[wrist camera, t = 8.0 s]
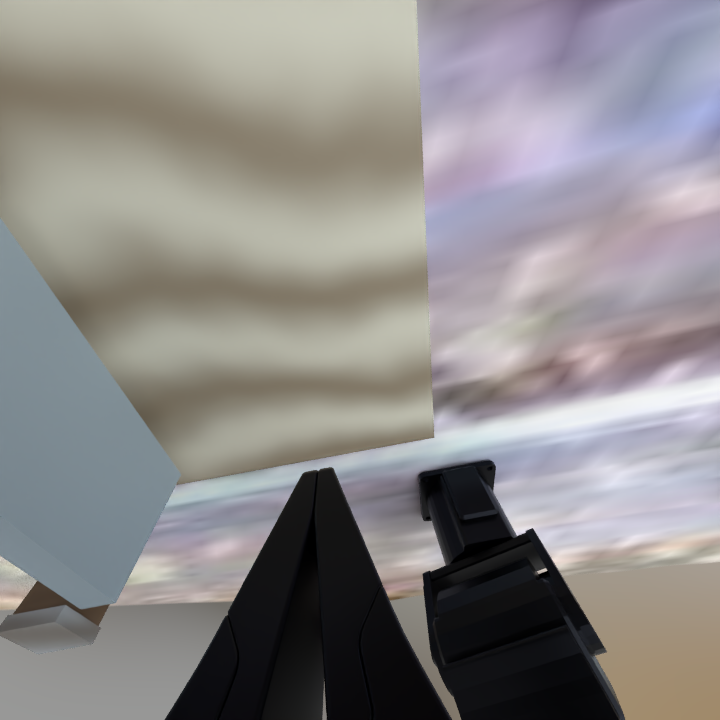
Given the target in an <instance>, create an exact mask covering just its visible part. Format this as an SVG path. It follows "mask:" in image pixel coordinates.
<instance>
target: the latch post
mask: <svg viewBox="0 0 720 720" xmlns="http://www.w3.org/2000/svg"><path fill="white" fill-rule="evenodd" d="M109 605H110V604H108V605H102V606H97V607H91V608H86V609H79V608H78V607H76V606H75V605H73V604H72V603H70V602H69V601H67V600H66V599H64V598H63V597H61V596H60V595H58V594H57V593H55V592H54V591H52V590H51V589H49V588H48V587H46V586H45V585H43V584H42V583H41V582H39V581H37V582H36V584H35V585H34V586H33V588H32V589H31V590H30V592H29V593H28V595H27V596H26V597H25V599H24V600H23V601H22V603H21V604H20V605H19V607H18V608H17V609H16V611H15V612H14V614H13V615H8V616H7V617H6V618H5V620H4V621H3V623H2V624H1V625H0V636H2V637H4V638H6V639H8V640H10V641H12V642H14V643H16V644H18V645H20V646H22V647H24V648H26V649H28V650H30V651H32V652H34V653H36V654H42V653H47V652H52V651H58V650H64V649H68V648H74V647H80V646H85V645H91V644H93V642H94V640H95V638H96V636H97V634H98V632H99V630H100V627H99V623H100V622H101V620H102V618H103V616H104V614H105V612H106V610H107V608H108V606H109Z"/></svg>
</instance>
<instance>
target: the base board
mask: <svg viewBox="0 0 720 720" xmlns="http://www.w3.org/2000/svg"><path fill="white" fill-rule="evenodd" d="M0 218H1V219H2V221H3V222H4V224H5V225H6V226H7V228H8V229H9V231H10V232H11V233H12V235H13V236H14V238H15V239H16V241H17V242H18V243H19V245H20V246H21V248H22V249H23V250H24V252H25V253H26V255H27V256H28V258H29V259H30V260H31V262H32V263H33V265H34V266H35V268H36V269H37V270H38V272H39V273H40V275H41V276H42V277H43V279H44V280H45V282H46V283H47V285H48V286H49V287H50V289H51V290H52V292H53V293H54V295H55V296H56V297H57V299H58V300H59V302H60V303H61V304H62V306H63V307H64V309H65V310H66V312H67V313H68V314H69V316H70V317H71V319H72V320H73V321H74V323H75V324H76V326H77V327H78V329H79V330H80V331H81V333H82V334H83V336H84V337H85V339H86V340H87V341H88V343H89V344H90V346H91V347H92V348H93V350H94V351H95V353H96V354H97V356H98V357H99V358H100V360H101V361H102V363H103V364H104V365H105V367H106V368H107V370H108V371H109V373H110V374H111V375H112V377H113V378H114V380H115V381H116V383H117V384H118V385H119V387H120V388H121V390H122V391H123V392H124V394H125V395H126V397H127V398H128V400H129V401H130V402H131V404H132V405H133V407H134V408H135V409H136V411H137V412H138V414H139V415H140V417H141V418H142V419H143V421H144V422H145V424H146V425H147V427H148V428H149V429H150V431H151V432H152V434H153V435H154V436H155V438H156V439H157V441H158V442H159V444H160V445H161V446H162V448H163V449H164V451H165V452H166V453H167V455H168V456H169V458H170V459H171V461H172V462H173V463H174V465H175V466H176V468H177V469H178V471H179V472H180V473H181V476H180V478H179V480H178V482H177V484H176V485H179V484H184V483H190V482H195V481H200V480H206V479H211V478H217V477H222V476H228V475H233V474H239V473H244V472H249V471H255V470H260V469H266V468H271V467H277V466H282V465H288V464H293V463H298V462H304V461H309V460H315V459H320V458H326V457H331V456H336V455H342V454H347V453H353V452H358V451H364V450H369V449H375V448H380V447H385V446H391V445H396V444H402V443H407V442H413V441H418V440H424V439H429V438H434V423H433V399H432V374H431V349H430V325H429V300H428V275H427V250H426V226H425V201H424V176H423V152H422V127H421V102H420V77H419V53H418V28H417V3H416V0H0Z"/></svg>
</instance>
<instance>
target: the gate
mask: <svg viewBox="0 0 720 720" xmlns="http://www.w3.org/2000/svg"><path fill="white" fill-rule="evenodd" d="M180 476H181V473H180V472H179V471H178V469H177V468H176V466H175V465H174V463H173V462H172V461H171V459H170V458H169V456H168V455H167V453H166V452H165V451H164V449H163V448H162V446H161V445H160V444H159V442H158V441H157V439H156V438H155V436H154V435H153V434H152V432H151V431H150V429H149V428H148V427H147V425H146V424H145V422H144V421H143V419H142V418H141V417H140V415H139V414H138V412H137V411H136V409H135V408H134V407H133V405H132V404H131V402H130V401H129V400H128V398H127V397H126V395H125V394H124V392H123V391H122V390H121V388H120V387H119V385H118V384H117V383H116V381H115V380H114V378H113V377H112V375H111V374H110V373H109V371H108V370H107V368H106V367H105V365H104V364H103V363H102V361H101V360H100V358H99V357H98V356H97V354H96V353H95V351H94V350H93V348H92V347H91V346H90V344H89V343H88V341H87V340H86V339H85V337H84V336H83V334H82V333H81V331H80V330H79V329H78V327H77V326H76V324H75V323H74V321H73V320H72V319H71V317H70V316H69V314H68V313H67V312H66V310H65V309H64V307H63V306H62V304H61V303H60V302H59V300H58V299H57V297H56V296H55V295H54V293H53V292H52V290H51V289H50V287H49V286H48V285H47V283H46V282H45V280H44V279H43V277H42V276H41V275H40V273H39V272H38V270H37V269H36V268H35V266H34V265H33V263H32V262H31V260H30V259H29V258H28V256H27V255H26V253H25V252H24V250H23V249H22V248H21V246H20V245H19V243H18V242H17V241H16V239H15V238H14V236H13V235H12V233H11V232H10V231H9V229H8V228H7V226H6V225H5V224H4V222H3V221H2V219H1V218H0V556H2V557H3V558H5V559H6V560H8V561H9V562H11V563H12V564H14V565H15V566H17V567H18V568H20V569H21V570H23V571H24V572H26V573H27V574H29V575H30V576H32V577H33V578H35V579H36V580H38V581H39V582H41V583H42V584H43V585H45V586H46V587H48V588H49V589H51V590H52V591H54V592H55V593H57V594H58V595H60V596H61V597H63V598H64V599H66V600H67V601H69V602H70V603H72V604H73V605H75V606H76V607H78V608H79V609H86V608H91V607H97V606H102V605H108V604H113V603H116V601H117V599H118V597H119V595H120V593H121V591H122V589H123V588H124V586H125V584H126V582H127V580H128V578H129V576H130V574H131V572H132V570H133V568H134V566H135V564H136V562H137V560H138V558H139V556H140V554H141V552H142V550H143V548H144V546H145V544H146V542H147V541H148V539H149V537H150V535H151V533H152V531H153V529H154V527H155V525H156V523H157V521H158V519H159V517H160V515H161V513H162V511H163V509H164V507H165V505H166V503H167V501H168V499H169V497H170V495H171V493H172V492H173V490H174V488H175V486H176V484H177V482H178V480H179V478H180Z"/></svg>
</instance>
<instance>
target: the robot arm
mask: <svg viewBox="0 0 720 720" xmlns="http://www.w3.org/2000/svg"><path fill="white" fill-rule="evenodd" d="M495 470H496V466H495V464H494V463H493V462H492V461H484V462H479V463H473V464H468V465H462V466H457V467H451V468H446V469H441V470H435V471H430V472H424V473H421V474H420V475H419V488H420V500H421V512H422V518H423V520H424V521H432V523H433V526H434V529H435V532H436V535H437V539H438V542H439V545H440V548H441V552H442V555H443V558H444V561H445V564H446V566H444V567H441V568H439V569H436V570H434V571H431V572H430V571H428V572H425V573H423V582H424V586H423V589H424V598H425V607H426V614H427V625H428V633H429V642H430V650H431V656H432V660H433V662H434V664H435V665H436V666H437V667H438V670H439V673H440V675H441V678H442V680H443V682H444V684H445V686H446V688H447V689H448V691H449V692H450V694H451V695H452V696H453V697H454V699H455V702H456V704H457V708H458V710H459V713H460V717H461V720H625V717H624V714H623V711H622V709H621V706H620V704H619V701H618V699H617V697H616V694H615V692H614V689H613V687H612V685H611V683H610V682H609V680H608V678H607V677H606V675H605V673H604V671H603V669H602V668H601V666H600V664H599V663H598V661H597V659H596V657H595V655H599V654H602V653H605V652H607V651H606V650H605V648H604V646H603V644H602V642H601V641H600V639H599V638H598V636H597V634H596V632H595V631H594V629H593V627H592V625H591V624H590V622H589V620H588V619H587V617H586V615H585V614H584V612H583V610H582V609H581V607H580V605H579V603H578V602H577V600H576V598H575V597H574V595H573V593H572V592H571V590H570V588H569V587H568V585H567V583H566V582H565V580H564V578H563V577H562V575H561V573H560V572H559V570H558V568H557V567H556V565H555V563H554V562H553V560H552V558H551V557H550V555H549V554H548V552H547V550H546V549H545V547H544V545H543V544H542V542H541V541H540V539H539V537H538V536H537V534H536V533H535V531H534V529H533V528H532V529H530V530H527V531H526V533H524V534H522V535H519V536H517V535H516V533H515V532H514V530H513V528H512V526H511V524H510V522H509V520H508V519H507V517H506V515H505V513H504V511H503V509H502V508H501V506H500V504H499V502H498V500H497V498H496V496H495V495H494V493H493V487H494V479H495ZM544 568H546V569H547V571H546V572H544V573H541V574H538V573H537V571H539V570H541V569H544ZM324 681H325V697H326V713H327V720H452V719H451V717H450V715H449V713H448V712H447V710H446V708H445V707H444V705H443V703H442V701H441V699H440V697H439V696H438V694H437V692H436V690H435V688H434V687H433V685H432V683H431V682H430V680H429V678H428V676H427V674H426V673H425V671H424V669H423V667H422V665H421V664H420V662H419V660H418V658H417V656H416V654H415V652H414V651H413V649H412V647H411V645H410V643H409V641H408V639H407V637H406V635H405V633H404V632H403V629H402V627H401V625H400V623H399V621H398V618H397V616H396V614H395V612H394V610H393V608H392V605H391V603H390V601H389V598H388V596H387V594H386V591H385V589H384V587H383V585H382V582H381V580H380V577H379V575H378V573H377V570H376V568H375V566H374V563H373V561H372V559H371V556H370V554H369V552H368V549H367V547H366V544H365V542H364V540H363V537H362V535H361V533H360V530H359V528H358V526H357V523H356V521H355V519H354V516H353V514H352V511H351V509H350V507H349V504H348V502H347V500H346V497H345V495H344V493H343V490H342V488H341V486H340V483H339V481H338V478H337V476H336V474H335V471H334V469H333V468H332V467H329V468H324V469H320V470H319V471H317V470H313V471H308V472H304V473H303V474H302V476H301V477H300V479H299V481H298V483H297V485H296V487H295V489H294V490H293V492H292V494H291V496H290V498H289V500H288V501H287V503H286V505H285V507H284V509H283V511H282V513H281V514H280V516H279V518H278V520H277V522H276V524H275V526H274V527H273V529H272V531H271V533H270V535H269V537H268V538H267V540H266V542H265V544H264V546H263V548H262V550H261V551H260V553H259V555H258V557H257V559H256V561H255V563H254V564H253V566H252V568H251V570H250V572H249V574H248V575H247V577H246V579H245V581H244V583H243V585H242V587H241V588H240V590H239V592H238V594H237V596H236V598H235V600H234V601H233V603H232V605H231V607H230V609H229V611H228V615H227V616H225V618H224V620H223V621H222V623H221V625H220V627H219V629H218V631H217V633H216V635H215V636H214V638H213V640H212V642H211V643H210V645H209V647H208V649H207V650H206V652H205V654H204V656H203V658H202V659H201V661H200V663H199V665H198V667H197V668H196V670H195V672H194V673H193V675H192V677H191V678H190V680H189V682H188V683H187V684H186V686H185V688H184V690H183V691H182V693H181V694H180V696H179V698H178V699H177V701H176V703H175V704H174V706H173V707H172V709H171V711H170V712H169V714H168V715H167V717H166V718H165V720H322V711H323V690H324Z"/></svg>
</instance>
